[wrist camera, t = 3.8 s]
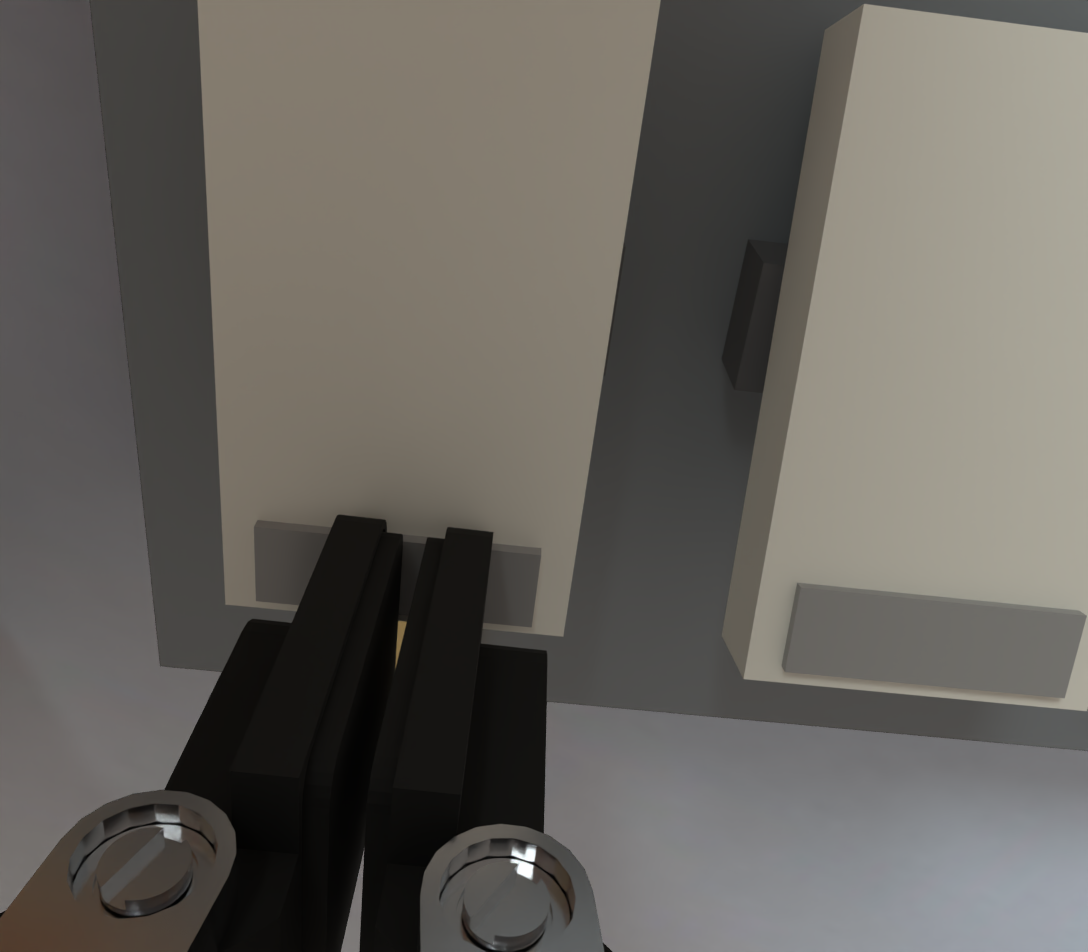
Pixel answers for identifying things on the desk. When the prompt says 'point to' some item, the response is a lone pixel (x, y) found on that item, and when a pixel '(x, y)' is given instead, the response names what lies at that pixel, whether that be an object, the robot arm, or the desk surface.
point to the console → (629, 374)
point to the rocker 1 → (415, 276)
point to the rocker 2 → (928, 375)
